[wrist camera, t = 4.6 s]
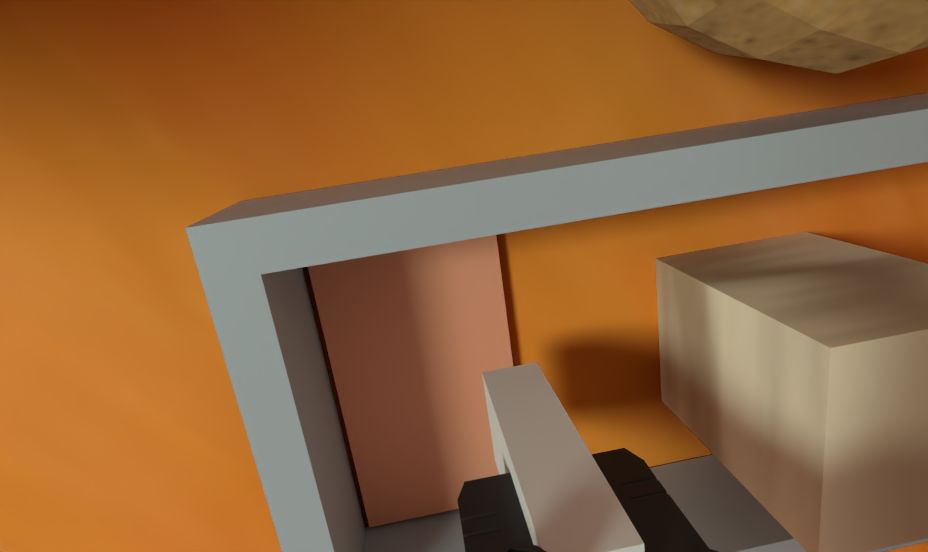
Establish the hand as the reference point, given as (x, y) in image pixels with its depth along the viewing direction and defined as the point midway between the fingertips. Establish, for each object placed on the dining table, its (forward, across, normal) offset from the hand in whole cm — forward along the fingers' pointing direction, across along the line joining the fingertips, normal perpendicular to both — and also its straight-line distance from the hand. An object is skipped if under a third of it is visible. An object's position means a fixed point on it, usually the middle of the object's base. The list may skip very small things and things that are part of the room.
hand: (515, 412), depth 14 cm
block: (+3, +8, 0) cm, 8 cm away
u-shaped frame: (+3, +5, 0) cm, 5 cm away
